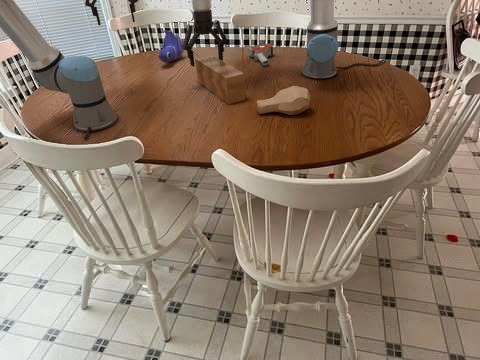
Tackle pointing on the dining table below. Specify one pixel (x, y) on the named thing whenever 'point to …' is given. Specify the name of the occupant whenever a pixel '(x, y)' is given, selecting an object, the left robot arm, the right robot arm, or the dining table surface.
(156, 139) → the dining table surface
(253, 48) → the tape dispenser
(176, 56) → the toy
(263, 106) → the squash
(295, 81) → the dining table surface
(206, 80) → the box
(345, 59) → the dining table surface
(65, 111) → the dining table surface
